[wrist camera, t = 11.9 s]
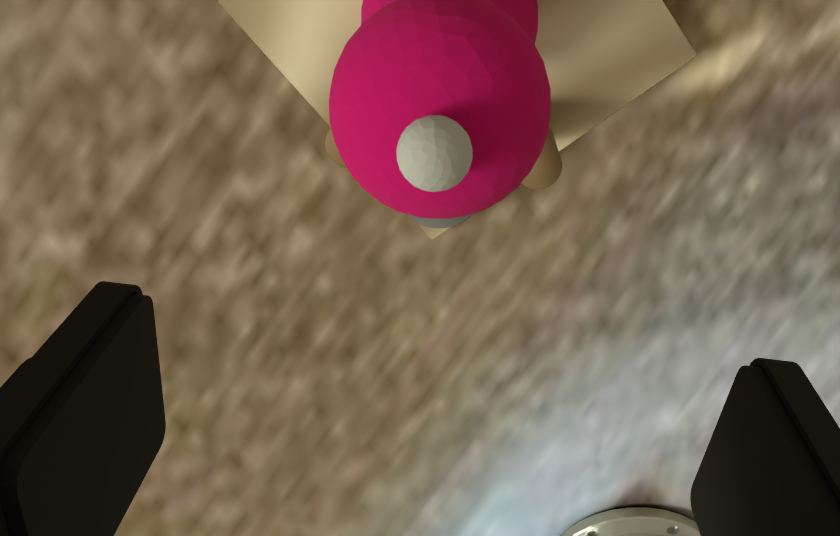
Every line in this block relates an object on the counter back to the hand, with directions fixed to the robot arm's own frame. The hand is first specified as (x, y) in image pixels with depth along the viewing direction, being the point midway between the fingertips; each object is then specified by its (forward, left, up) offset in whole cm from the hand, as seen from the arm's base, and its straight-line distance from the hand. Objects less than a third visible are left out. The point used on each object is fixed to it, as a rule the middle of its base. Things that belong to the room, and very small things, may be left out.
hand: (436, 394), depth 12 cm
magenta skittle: (+1, -1, -26) cm, 26 cm away
